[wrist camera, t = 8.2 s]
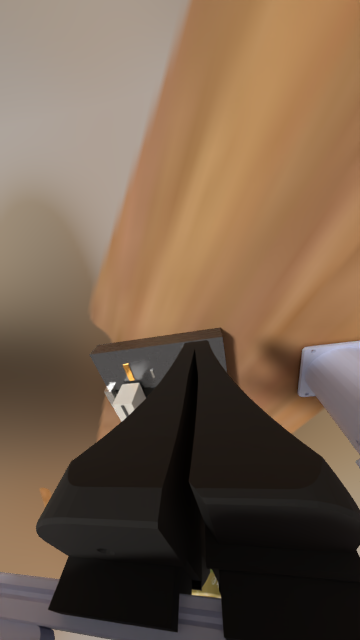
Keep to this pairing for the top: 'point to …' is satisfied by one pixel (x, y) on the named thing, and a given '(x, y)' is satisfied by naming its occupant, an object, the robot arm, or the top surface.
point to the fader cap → (128, 399)
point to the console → (147, 359)
